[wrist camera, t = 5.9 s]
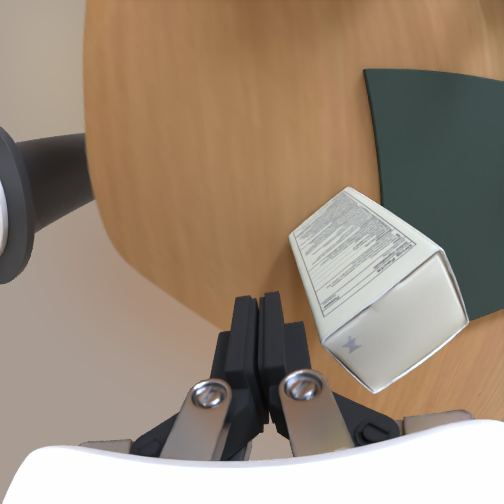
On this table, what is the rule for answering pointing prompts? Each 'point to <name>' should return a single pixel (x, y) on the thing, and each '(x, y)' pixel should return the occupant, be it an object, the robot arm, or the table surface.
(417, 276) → the printed medicine box
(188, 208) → the table surface
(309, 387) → the robot arm
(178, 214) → the table surface
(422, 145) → the mat
